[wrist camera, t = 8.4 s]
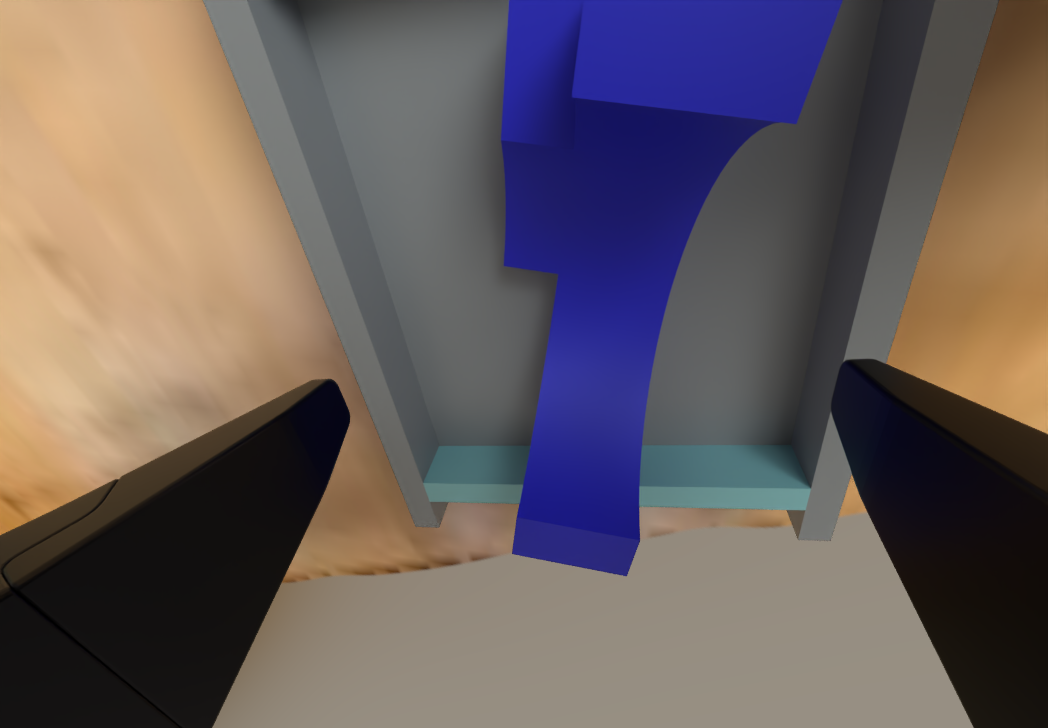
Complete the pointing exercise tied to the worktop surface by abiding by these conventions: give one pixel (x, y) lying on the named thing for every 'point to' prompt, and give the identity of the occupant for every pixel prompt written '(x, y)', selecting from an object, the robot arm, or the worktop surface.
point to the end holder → (528, 296)
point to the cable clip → (624, 217)
